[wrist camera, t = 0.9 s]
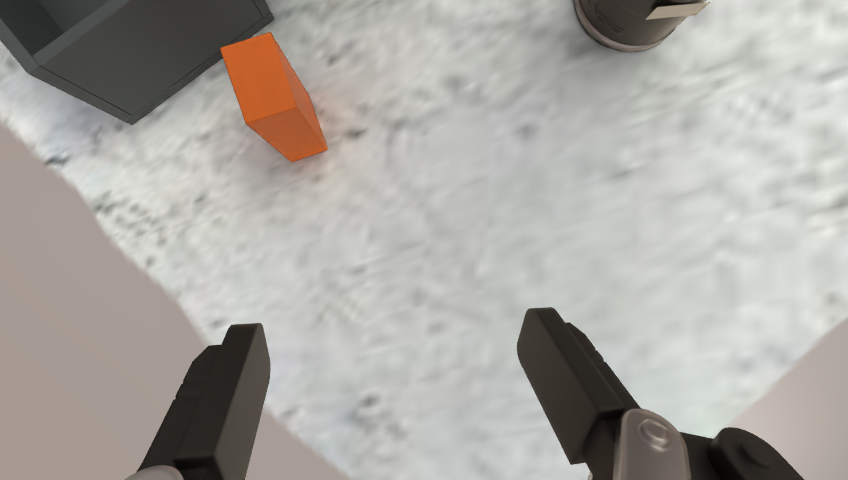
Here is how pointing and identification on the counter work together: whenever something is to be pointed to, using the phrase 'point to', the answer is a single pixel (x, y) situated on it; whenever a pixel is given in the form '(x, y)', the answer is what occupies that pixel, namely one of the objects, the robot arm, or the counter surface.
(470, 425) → the counter surface
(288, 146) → the block
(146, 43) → the bin
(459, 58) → the counter surface
